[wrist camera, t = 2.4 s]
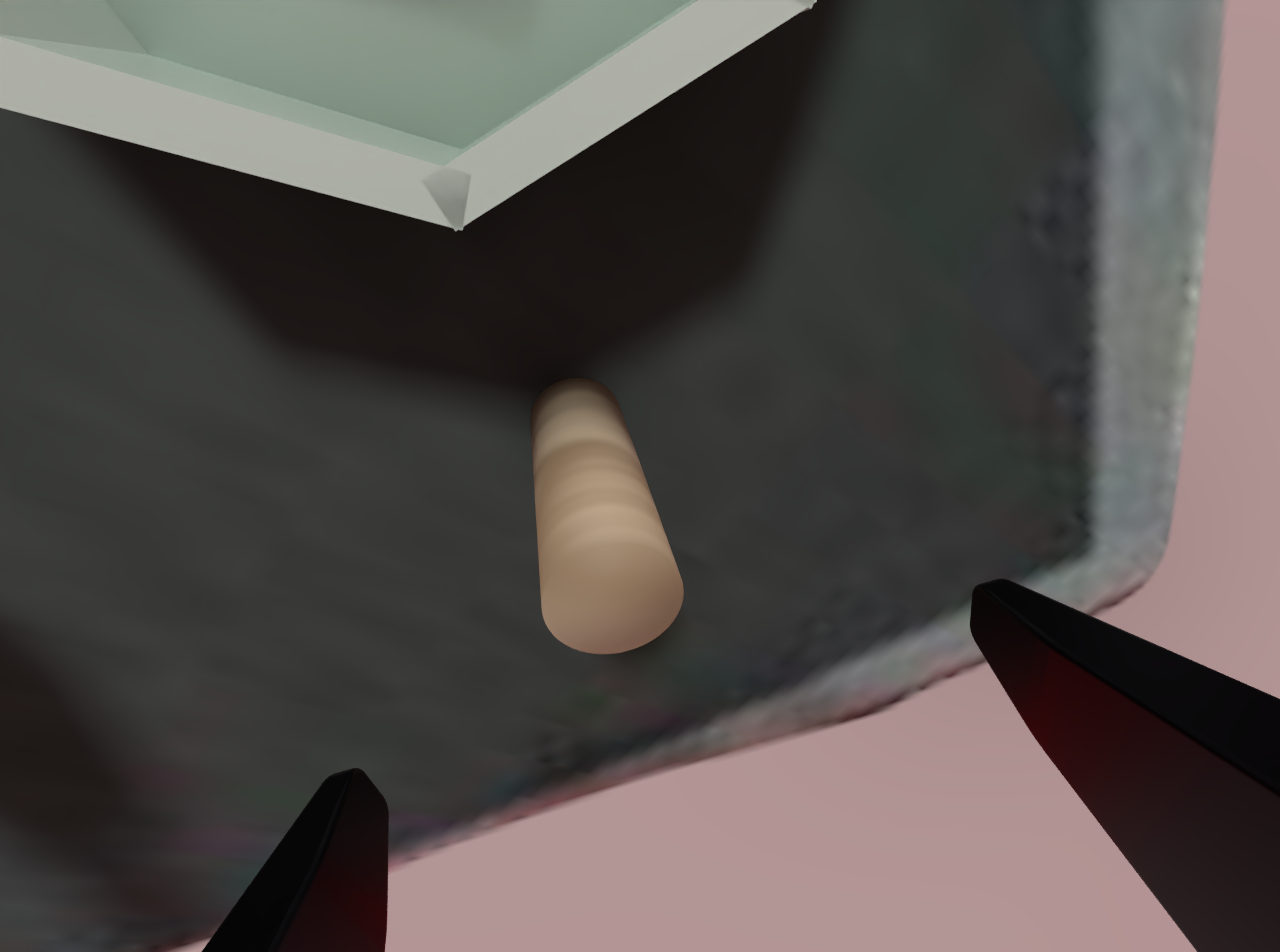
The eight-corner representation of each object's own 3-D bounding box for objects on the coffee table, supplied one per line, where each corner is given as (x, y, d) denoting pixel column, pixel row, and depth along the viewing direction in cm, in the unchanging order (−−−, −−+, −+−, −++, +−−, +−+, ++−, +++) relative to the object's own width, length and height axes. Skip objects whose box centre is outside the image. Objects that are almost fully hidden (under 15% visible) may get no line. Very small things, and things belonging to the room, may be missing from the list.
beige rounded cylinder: (608, 466, 22) (659, 659, 14) (522, 451, 21) (528, 648, 14) (632, 387, 21) (702, 554, 13) (541, 368, 20) (559, 534, 12)
